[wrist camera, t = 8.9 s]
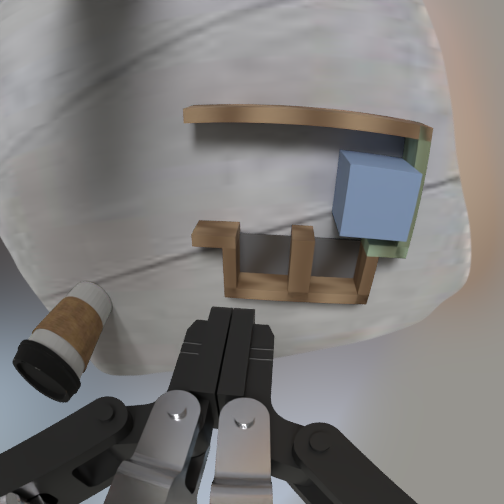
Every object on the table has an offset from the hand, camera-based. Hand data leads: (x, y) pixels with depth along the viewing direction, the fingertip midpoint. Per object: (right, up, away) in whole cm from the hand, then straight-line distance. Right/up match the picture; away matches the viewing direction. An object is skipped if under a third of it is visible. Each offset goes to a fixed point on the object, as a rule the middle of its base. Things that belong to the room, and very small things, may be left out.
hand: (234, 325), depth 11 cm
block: (+11, +9, +16) cm, 22 cm away
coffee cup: (-21, -3, +27) cm, 34 cm away
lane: (+5, +7, +18) cm, 20 cm away
